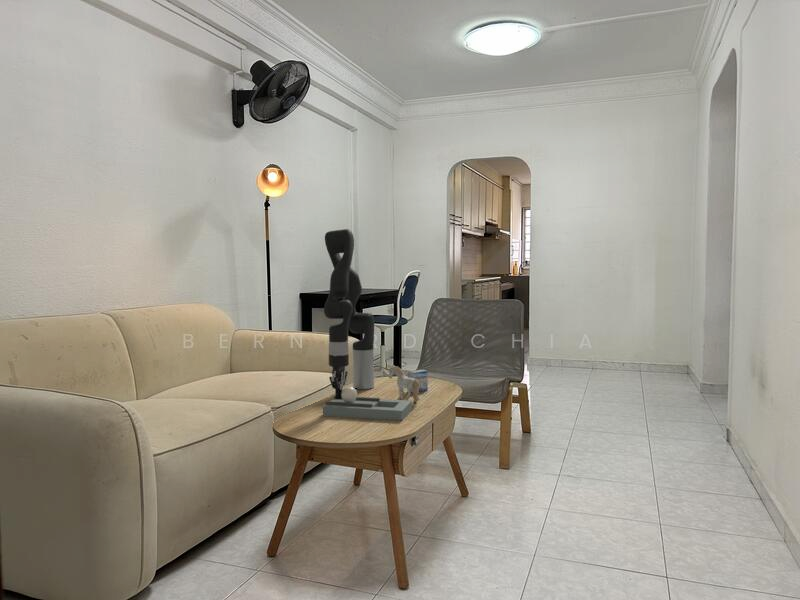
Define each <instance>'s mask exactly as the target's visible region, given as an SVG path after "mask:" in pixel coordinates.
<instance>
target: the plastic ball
mask: <svg viewBox="0 0 800 600" xmlns="http://www.w3.org/2000/svg"><path fill="white" fill-rule="evenodd" d="M341 397H342V399H343V400H344V401H345V402H348V403H351V402H353V401H355V400H356V398H357V397H358V392H357V389H355V388H353V386H345V387H343V388H342V392H341Z"/></svg>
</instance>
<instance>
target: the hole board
mask: <svg viewBox="0 0 800 600" xmlns="http://www.w3.org/2000/svg"><path fill="white" fill-rule="evenodd" d="M324 403H325V404H324V405H322V416H324V417H335V418H337V417H338V418H355V419H356V418H357V419H368V418H369V420H370V419H371V420H372V419H373V420H384V419H388V421H400V420H402V421H404V419H406V417H407V416H408V415H409V414H410V413H411V412H410V411H411V410H413V400H409V399H408V400H405V399H402V400H398V399H389V398H387V399H386V398H384V399H383V398H380V397H369V396H368V397H366V396H357V398H356V400H355V401H353V402H351V403H348V402H345V401H344V400H343V399H342V398H341V399H336V398H335V395H334V396H333V399H331V400H330V401H328V400H326V401H325V402H324ZM409 412H410V413H409Z"/></svg>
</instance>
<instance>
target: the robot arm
mask: <svg viewBox="0 0 800 600" xmlns="http://www.w3.org/2000/svg"><path fill="white" fill-rule="evenodd" d="M324 243H325V247H326V251H327V253H328V256H329V258H330V261H331V264H332V267H333V270H332V271H331V274H330V279H329V280H330V281H329V282H330V283H329V292H328V295H327V296H328V297H327V299H326V301H325V303H324V307H323V313H324V316H325V318H327V319H333V320H336V319H342V321H341V322H340V323H337V324H333V325H330V327H329V329H328V366H329V367H332V371H331V375H332V376H329V382H330V384H331V387H332V389H334V391H335V393H334V394H335V395H334V396H335V398H336V399H341V398H342V397H341V392H342V390H343V389H344V386H345V387H346V381H347V377H348V371H347V370H346V367H348V366H349V365H350V362H349V361H350V358H349V357H350V353H349V352H350V350H349V349H350V348H349V331H350V332H351V333H352V334H356V335H357V334H358V335H359V334H360V335H363V338H362V339H360V340H357V341H354V342H353V343H352V385H353V386H352V387H354V388H357V389H356V390H371V389H373V388H375V369H374V368H375V367H374V366H375V364H374V363H375V362H374V356H375V355H374V354H375V353H374V343H375V317H374V315H373V313H371V312H357V309H356V305H357V302H358V300H359V298H360V297H361V294H362V292H363V291H362V290H363V289H362V288H363V287H362V283H361V280H360V276H359V274H358V273H357V272H356V271H357V270H355V269H354V268H353V267H352V266H351V265H352V261H353V255H354V250H355V238H354V234H353V232H352V230H351V229H348V228H346V229H345V228H344V229H336V230H329V231H327V232H326V233H325V235H324ZM340 254H342V256H341V255H340ZM370 388H371V389H370Z"/></svg>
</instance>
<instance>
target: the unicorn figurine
mask: <svg viewBox="0 0 800 600" xmlns="http://www.w3.org/2000/svg"><path fill="white" fill-rule="evenodd" d="M381 368H382V369H384V370H386V371H388V379H392V378H393V376H395V374H396V376H397V379H396V385H397V387H398V393H399V394H398V395H399V396H398V397H397V400H403V399H404V400H408V401H409V399H410V396H411V393H412V398H413V400H412V403H414V402H415V403H418V402H419V401H420V399H419V393H420V392H419V386H420V385H419V382H418V381H417V380H416V379H414V378H408V376H406V374H405V372H404V370H403V368H400V367H399V366H398V365H397V366H396V365H393V366H389V368H387V367H383V366H380V369H381ZM411 388H413V392H410V390H411ZM404 389H406V390H407V395H406V392H405V391H404Z"/></svg>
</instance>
